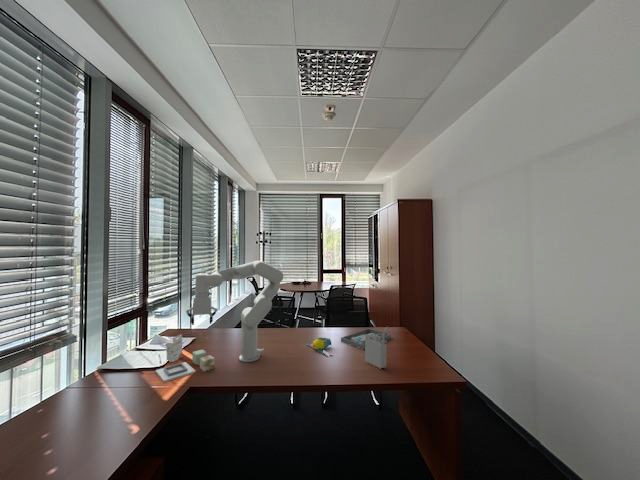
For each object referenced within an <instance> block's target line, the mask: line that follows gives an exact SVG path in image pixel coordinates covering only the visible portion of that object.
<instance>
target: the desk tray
mask: <svg viewBox="0 0 640 480" xmlns="http://www.w3.org/2000/svg"><path fill="white" fill-rule="evenodd" d="M383 332H384V331H380V330H377V329H373V328H370V327H368V328H364V329H362V330H359V331H357V332H354V333H351V334H348V335H345V336H342V337H340V343H343V342H344V343H343V344H346V343H347V344H346V345H348V344H351V345H354V346H356V347H355V348H357V347H360V348H362V349H365V344H364V345H363V344H360V343H357V342H354V341H351V338H353V337H357V336H360V335H365V334H370V333H373V334H375V335H376V334H383ZM378 336H383V335H378ZM391 339H392V334H390V333H387V332H385V336H384V340H386V341H388V340H391ZM351 345H350V346H351ZM354 346H353V347H354ZM360 348H359V349H360ZM362 349H361V350H362Z"/></svg>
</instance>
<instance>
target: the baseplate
mask: <svg viewBox="0 0 640 480" xmlns="http://www.w3.org/2000/svg"><path fill="white" fill-rule="evenodd" d="M155 373H156V374H157V376H158V377H159V378H160V380H161V381H162V382H163V383H166V382H170V381H172V380H173V381H174V380H176V379H179V378H184V377H186V376H190V375H192V374H195V373H196V370H195V369H194V368H193V367H192V366H191V365H190V364H189V363H188V362H186V361H183V362H181V363H177V364H176V363H175V364H173V365H169V366H166V367H161V368H158V369H156V370H155ZM189 374H190V375H189Z"/></svg>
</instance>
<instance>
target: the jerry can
mask: <svg viewBox="0 0 640 480" xmlns="http://www.w3.org/2000/svg"><path fill="white" fill-rule="evenodd" d="M388 329H390V326H386V328H384V330H383V331H382V332H383V336H379V335H376V334H373V333H366V335H365V334H364V335H365V350H364V362H365V361H367V362H369V363H372V364H374V365H376V366H378V367H380V368H381V367H384V366H386V367H387V344H386V343H387V341H388V340H384V335H385V333H387V330H388Z"/></svg>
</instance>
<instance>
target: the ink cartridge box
mask: <svg viewBox="0 0 640 480" xmlns="http://www.w3.org/2000/svg"><path fill="white" fill-rule="evenodd" d="M182 335H183V334H182V333H180V334H178V335H176V336H174V337H173V338H172V340H169V341H167V342H166V345H165V346H166V349H165V351H166V361H167V360H168V361H169V362H168V363H174V362H176V361H178V360H179V359H181V358H183V336H182Z"/></svg>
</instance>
